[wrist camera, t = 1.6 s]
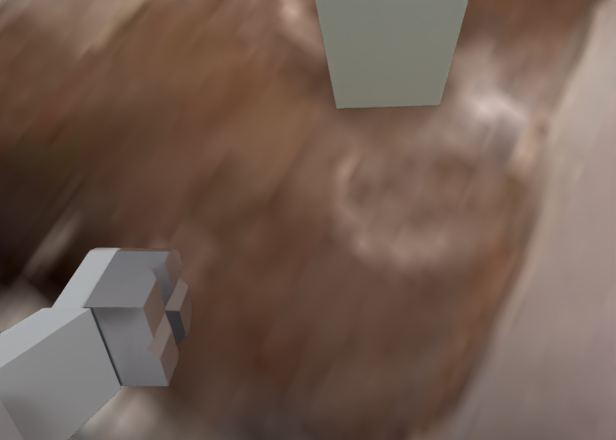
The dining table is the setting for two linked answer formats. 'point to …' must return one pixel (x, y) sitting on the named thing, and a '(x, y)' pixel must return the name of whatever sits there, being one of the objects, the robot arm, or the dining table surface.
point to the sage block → (389, 49)
